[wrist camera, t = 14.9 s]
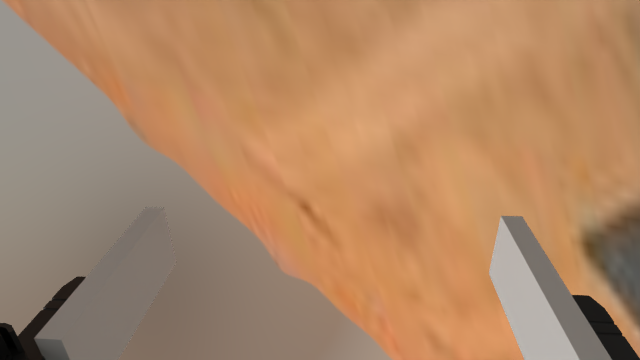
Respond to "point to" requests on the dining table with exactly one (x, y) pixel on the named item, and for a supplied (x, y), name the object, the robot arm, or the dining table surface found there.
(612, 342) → the robot arm
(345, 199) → the dining table surface
